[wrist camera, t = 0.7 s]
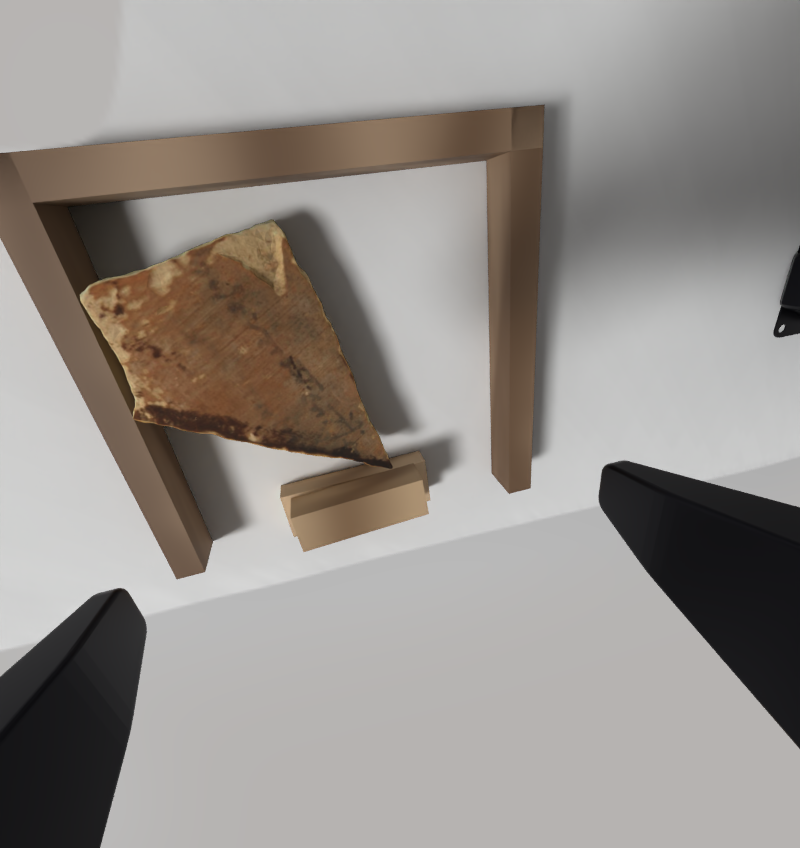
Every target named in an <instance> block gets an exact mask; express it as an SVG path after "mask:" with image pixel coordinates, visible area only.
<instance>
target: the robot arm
mask: <svg viewBox="0 0 800 848" xmlns="http://www.w3.org/2000/svg"><path fill="white" fill-rule="evenodd" d="M780 304H781V309H780V312H779V315H778V318H777V322H776V325H775V328H774V336H775V337H779V338H780V337H784V336H789V335H794V334H798V333H800V247H799V250H798V253H797V254H796V255H795V256H794V258H793V261H792V265H791V268H790V271H789V275H788V278H787V281H786V285H785V288H784V291H783V294H782V298H781V301H780ZM783 324H784V325H785V328H784V330H783V331H782V332H781V333H779V328H780V327H781V326H782V325H783ZM599 503H600V506H601V508H602V510H603V511H604V513H605V514H606V516H607V517H608V518H609V520H610V521H611V522H612V524H613V525H614V527H615V528H616V530H617V531H618V532H619V534H620V535H621V537H622V538H623V539H624V541H625V542H626V544H627V545H628V546H629V548H630V549H631V550H632V552H633V553H634V555H635V556H636V558H637V559H638V560H639V562H640V563H641V564H642V566H643V567H644V568H645V570H646V571H647V572H648V574H649V575H650V576H651V577H652V578H653V579H654V581H655V582H656V583H657V584H658V586H659V587H660V588H661V589H662V590H663V591H664V593H666V595H667V596H668V597H669V598H670V599H671V601H673V603H674V604H675V605H676V606H677V607H678V609H679V610H680V611H681V612H682V613H683V614H684V616H685V617H686V618H687V619H688V620H689V621H690V623H691V624H692V625H693V626H694V627H695V628H696V629H697V631H698V632H699V633H700V634H701V635H702V636H703V638H704V639H705V640H706V641H707V642H708V643H709V644H710V646H711V647H712V648H713V649H714V650H715V651H716V653H717V654H718V655H719V656H720V657H721V658H722V660H723V661H724V662H725V663H726V664H727V665H728V666H729V668H730V669H731V670H732V671H733V672H734V673H735V675H736V676H737V677H738V678H739V679H740V680H741V682H742V683H743V684H744V685H745V686H746V687H747V688H748V690H749V691H751V693H752V694H753V695H754V697H755V698H756V699H757V700H758V701H759V702H760V703H761V705H762V706H763V707H764V708H765V709H766V710H767V711H768V713H769V714H770V715H771V716H772V717H773V718H774V720H775V721H776V722H777V723H778V724H779V725H780V727H781V728H782V729H783V730H784V731H785V732H786V734H787V735H788V736H789V737H790V738H791V739H792V740H793V742H794V743H795V744H796V745H797V746H798V747H799V749H800V507H796V506H792V505H789V504H785V503H781V502H777V501H774V500H770V499H767V498H763V497H759V496H755V495H752V494H748V493H744V492H741V491H737V490H733V489H729V488H726V487H722V486H718V485H715V484H711V483H707V482H704V481H700V480H696V479H693V478H689V477H685V476H681V475H678V474H674V473H670V472H667V471H663V470H659V469H656V468H652V467H648V466H644V465H641V464H637V463H633V462H630V461H618V462H614V463H610V464H607V465H606V466H604V468H603V469H602V474H601V482H600V490H599ZM146 630H147V628H146V622H145V619H144V617H143V616H142V614H141V612H140V611H139V609H138V607H137V606H136V604H135V602H134V601H133V599H132V597H131V596H130V594H129V593H128V592H127V591H126V590H125V589H123V588H117V589H113V590H109V591H105V592H101V593H98V594H95V595H93V596H92V597H91V598H90V599H88V600H87V601H86V602H85V603H84V604H83V605H82V606H80V607H79V608H78V609H77V610H76V611H75V612H74V613H72V614H71V615H70V616H69V617H68V618H67V619H66V620H64V621H63V622H62V623H61V624H60V625H59V626H58V627H56V628H55V629H54V630H53V631H52V632H51V633H50V634H48V635H47V636H46V637H45V638H44V639H43V640H42V641H41V642H39V643H38V644H37V645H36V646H35V647H34V648H33V649H31V650H30V651H29V652H28V653H27V654H26V655H25V656H24V657H22V658H21V659H20V660H19V661H18V662H17V663H16V664H14V665H13V666H12V667H11V668H10V669H9V670H7V671H6V672H5V673H4V674H3V675H2V676H1V677H0V848H100V846H101V842H102V838H103V834H104V831H105V827H106V823H107V819H108V815H109V812H110V808H111V804H112V801H113V797H114V793H115V789H116V785H117V781H118V778H119V774H120V770H121V766H122V763H123V759H124V755H125V751H126V747H127V743H128V739H129V735H130V730H131V725H132V720H133V715H134V709H135V702H136V696H137V690H138V684H139V678H140V671H141V665H142V659H143V653H144V646H145V640H146V633H147V631H146Z"/></svg>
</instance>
